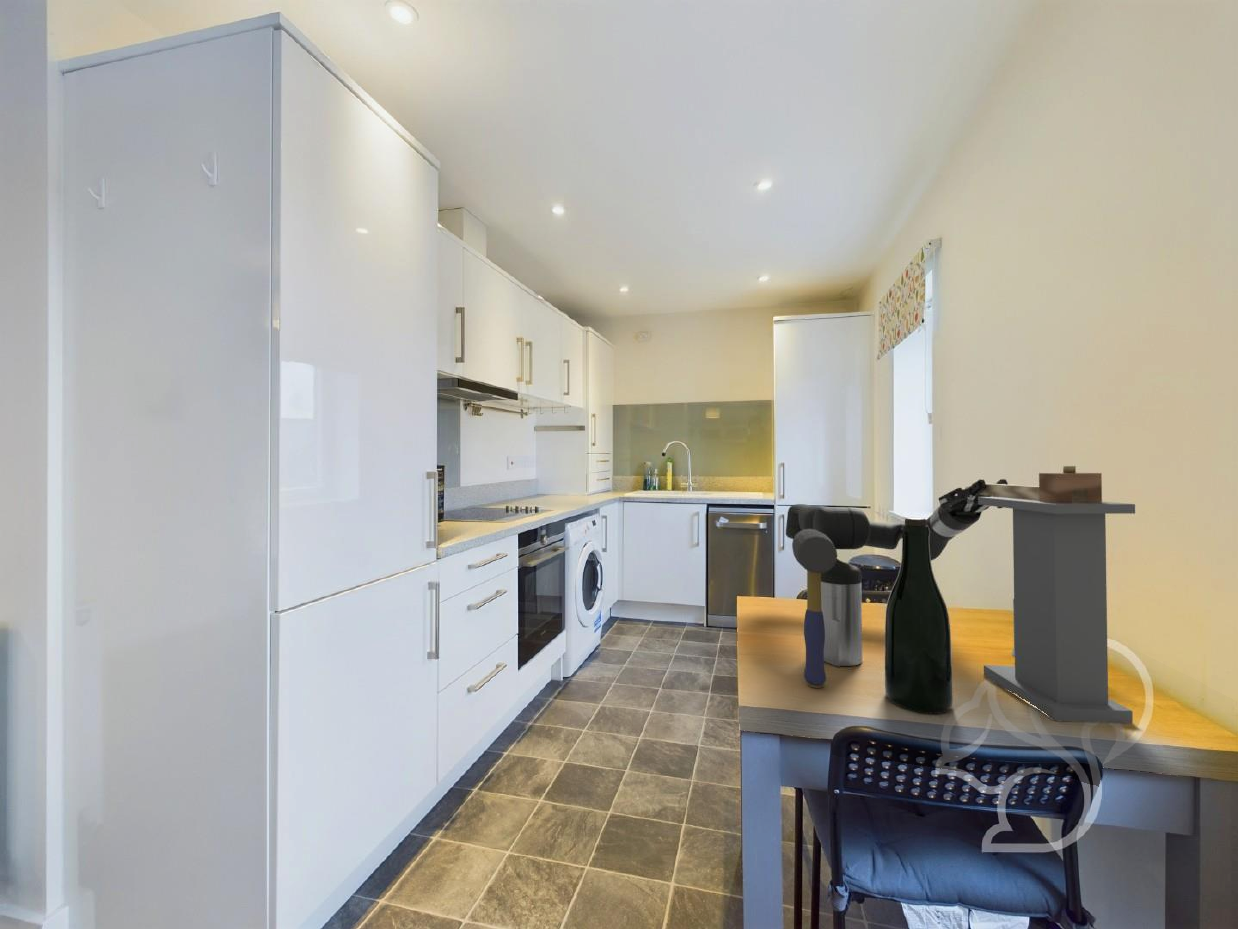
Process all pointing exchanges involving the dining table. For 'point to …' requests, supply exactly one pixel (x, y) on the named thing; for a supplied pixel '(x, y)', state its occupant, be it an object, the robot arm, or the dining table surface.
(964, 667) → the dining table surface
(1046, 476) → the marking gauge
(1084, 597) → the plinth
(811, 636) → the rubber mallet
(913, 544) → the dark green wine bottle
